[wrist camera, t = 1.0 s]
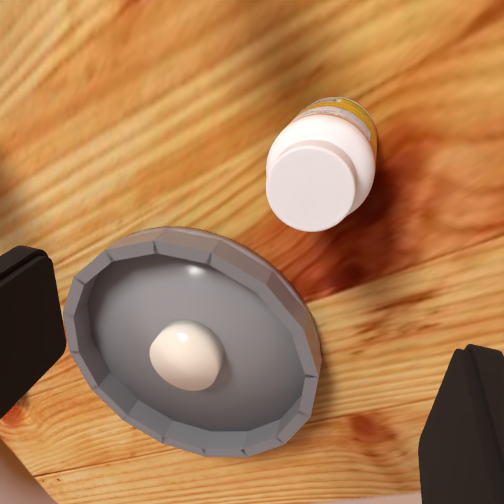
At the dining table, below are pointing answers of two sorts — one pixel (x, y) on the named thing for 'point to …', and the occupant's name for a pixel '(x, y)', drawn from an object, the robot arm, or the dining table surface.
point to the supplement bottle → (322, 164)
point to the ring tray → (195, 341)
